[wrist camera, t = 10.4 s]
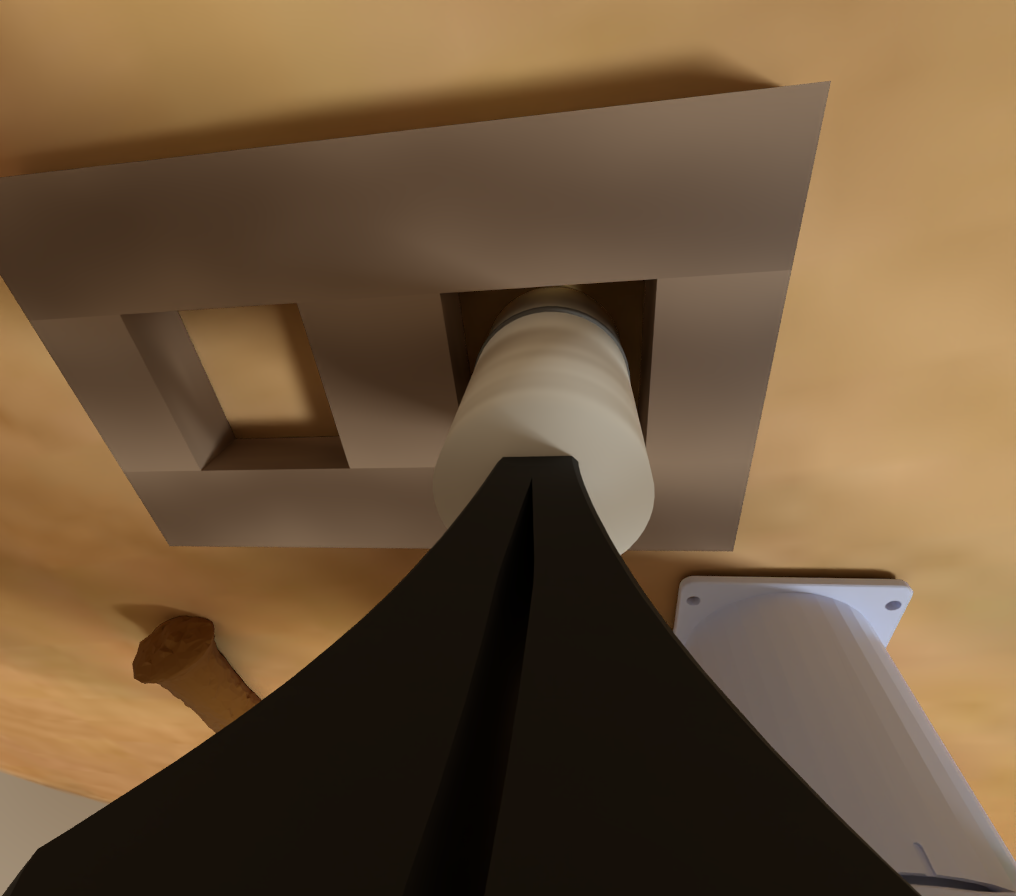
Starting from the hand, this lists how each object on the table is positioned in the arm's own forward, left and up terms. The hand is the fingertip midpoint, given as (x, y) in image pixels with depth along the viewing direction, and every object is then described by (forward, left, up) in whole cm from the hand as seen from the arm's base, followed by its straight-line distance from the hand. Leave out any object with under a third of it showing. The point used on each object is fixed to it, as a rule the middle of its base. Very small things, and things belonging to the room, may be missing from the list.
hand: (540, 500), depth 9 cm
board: (0, +4, -7) cm, 8 cm away
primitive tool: (-23, +18, -8) cm, 30 cm away
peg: (0, 0, -7) cm, 7 cm away
